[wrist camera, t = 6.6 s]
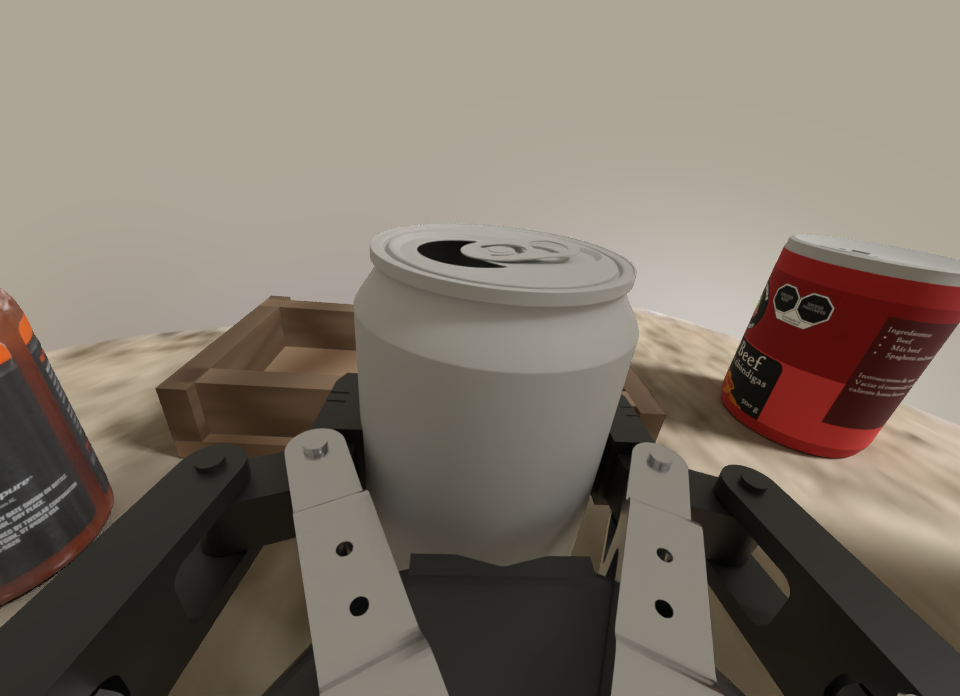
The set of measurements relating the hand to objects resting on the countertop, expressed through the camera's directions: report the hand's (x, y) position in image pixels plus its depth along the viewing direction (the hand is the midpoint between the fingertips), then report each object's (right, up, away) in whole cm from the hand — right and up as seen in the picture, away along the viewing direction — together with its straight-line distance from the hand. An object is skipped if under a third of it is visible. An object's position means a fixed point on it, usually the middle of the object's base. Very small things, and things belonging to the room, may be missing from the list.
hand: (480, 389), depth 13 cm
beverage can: (-1, -7, +1) cm, 7 cm away
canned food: (+20, -3, +12) cm, 24 cm away
